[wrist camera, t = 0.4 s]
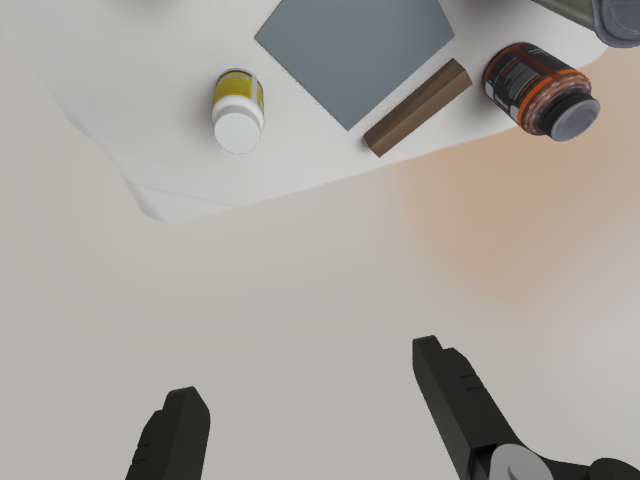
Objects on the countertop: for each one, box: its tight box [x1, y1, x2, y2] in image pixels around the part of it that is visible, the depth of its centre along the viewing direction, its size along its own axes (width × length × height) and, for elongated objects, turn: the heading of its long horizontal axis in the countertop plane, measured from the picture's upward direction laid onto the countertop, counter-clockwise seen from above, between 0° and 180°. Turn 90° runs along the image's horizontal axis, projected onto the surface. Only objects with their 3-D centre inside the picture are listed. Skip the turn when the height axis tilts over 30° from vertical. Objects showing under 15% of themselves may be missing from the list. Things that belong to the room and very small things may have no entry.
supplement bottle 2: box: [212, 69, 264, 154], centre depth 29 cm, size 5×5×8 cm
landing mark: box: [254, 0, 455, 131], centre depth 29 cm, size 14×14×1 cm
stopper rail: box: [364, 59, 473, 158], centre depth 35 cm, size 2×12×3 cm, turn 133°
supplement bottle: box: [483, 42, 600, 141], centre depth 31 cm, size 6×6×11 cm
